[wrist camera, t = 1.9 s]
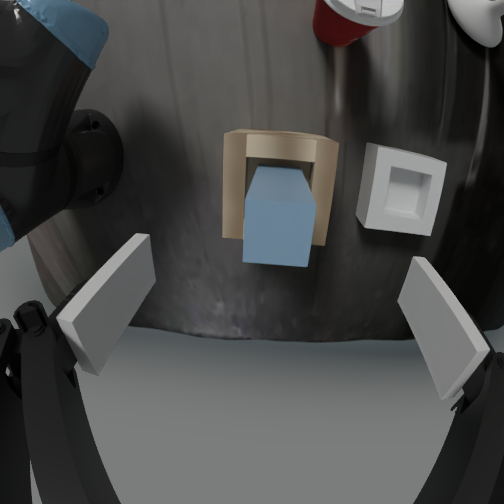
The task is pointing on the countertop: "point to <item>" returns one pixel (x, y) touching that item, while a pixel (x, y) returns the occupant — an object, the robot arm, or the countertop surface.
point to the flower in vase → (479, 19)
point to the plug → (278, 217)
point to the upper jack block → (277, 153)
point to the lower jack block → (399, 190)
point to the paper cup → (352, 18)
